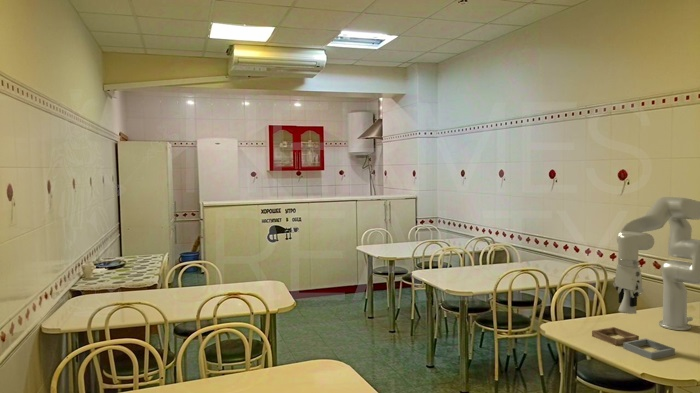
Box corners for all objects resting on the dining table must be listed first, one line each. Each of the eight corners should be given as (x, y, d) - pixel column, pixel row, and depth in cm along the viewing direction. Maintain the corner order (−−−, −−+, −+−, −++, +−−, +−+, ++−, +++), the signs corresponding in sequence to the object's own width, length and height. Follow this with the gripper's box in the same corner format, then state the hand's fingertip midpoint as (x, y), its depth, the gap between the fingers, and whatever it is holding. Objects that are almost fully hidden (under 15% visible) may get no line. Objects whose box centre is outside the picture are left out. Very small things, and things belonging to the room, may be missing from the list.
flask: (639, 314, 209) (639, 291, 209) (620, 314, 211) (621, 291, 210) (633, 309, 216) (634, 287, 216) (615, 309, 218) (616, 286, 217)
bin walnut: (613, 332, 228) (613, 327, 228) (638, 341, 216) (638, 335, 216) (592, 336, 224) (592, 330, 224) (616, 345, 212) (616, 339, 212)
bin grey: (645, 344, 213) (646, 338, 213) (674, 354, 201) (674, 348, 201) (623, 348, 209) (623, 342, 208) (651, 359, 196) (651, 353, 196)
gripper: (652, 265, 205) (651, 308, 206) (618, 258, 221) (618, 298, 223) (638, 267, 203) (638, 310, 204) (605, 260, 219) (604, 300, 220)
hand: (627, 304), depth 213 cm, fingers closed on flask, 5 cm apart
